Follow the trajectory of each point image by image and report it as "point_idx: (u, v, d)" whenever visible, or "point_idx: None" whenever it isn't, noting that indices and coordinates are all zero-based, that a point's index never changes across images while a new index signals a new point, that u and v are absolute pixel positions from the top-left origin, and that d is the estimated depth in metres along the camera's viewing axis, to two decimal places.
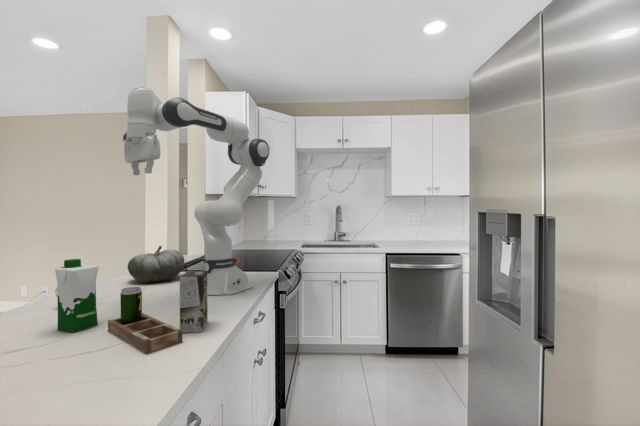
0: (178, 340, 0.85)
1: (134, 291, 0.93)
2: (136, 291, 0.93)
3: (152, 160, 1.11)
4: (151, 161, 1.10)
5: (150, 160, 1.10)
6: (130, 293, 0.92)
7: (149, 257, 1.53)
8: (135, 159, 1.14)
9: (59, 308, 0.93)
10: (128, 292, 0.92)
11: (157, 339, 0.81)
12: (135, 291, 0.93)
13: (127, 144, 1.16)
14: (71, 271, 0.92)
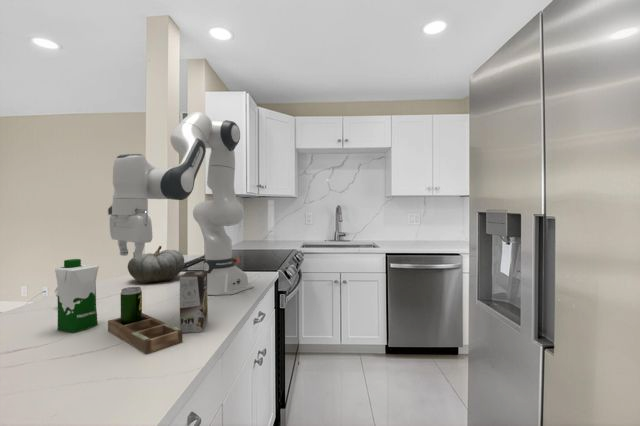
0: (178, 340, 0.85)
1: (134, 291, 0.93)
2: (136, 291, 0.93)
3: (142, 243, 0.91)
4: (141, 244, 0.91)
5: (140, 243, 0.90)
6: (130, 293, 0.92)
7: (149, 257, 1.53)
8: (122, 239, 0.94)
9: (59, 308, 0.93)
10: (128, 292, 0.92)
11: (157, 339, 0.81)
12: (135, 291, 0.93)
13: (113, 219, 0.96)
14: (71, 271, 0.92)
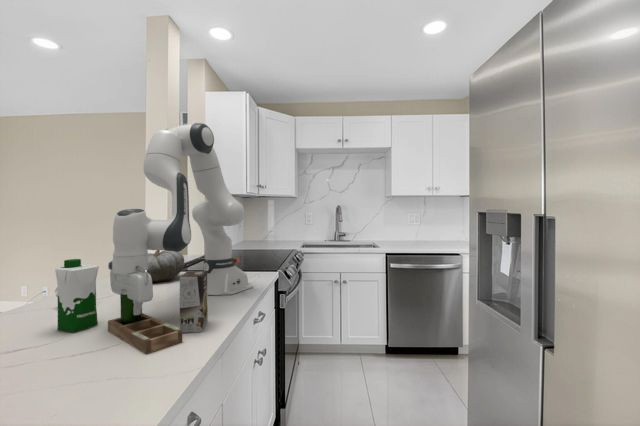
0: (178, 340, 0.85)
1: None
2: None
3: None
4: None
5: None
6: None
7: (149, 257, 1.53)
8: None
9: (59, 308, 0.93)
10: None
11: (157, 339, 0.81)
12: None
13: (113, 273, 0.96)
14: (71, 271, 0.92)
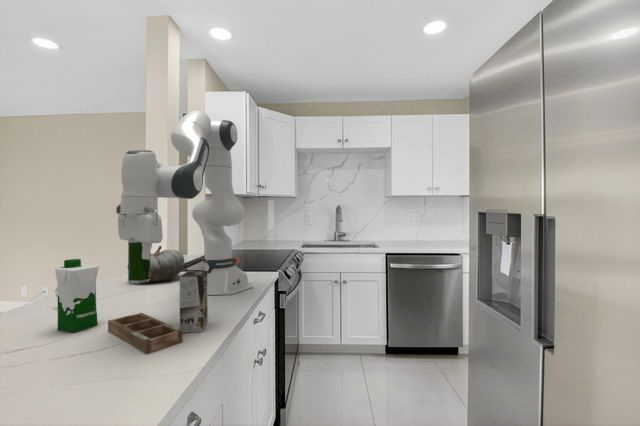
0: (178, 340, 0.85)
1: None
2: None
3: (150, 243, 0.87)
4: (149, 244, 0.87)
5: (147, 243, 0.87)
6: None
7: None
8: None
9: (59, 308, 0.93)
10: None
11: (157, 339, 0.81)
12: None
13: (121, 218, 0.92)
14: (71, 271, 0.92)
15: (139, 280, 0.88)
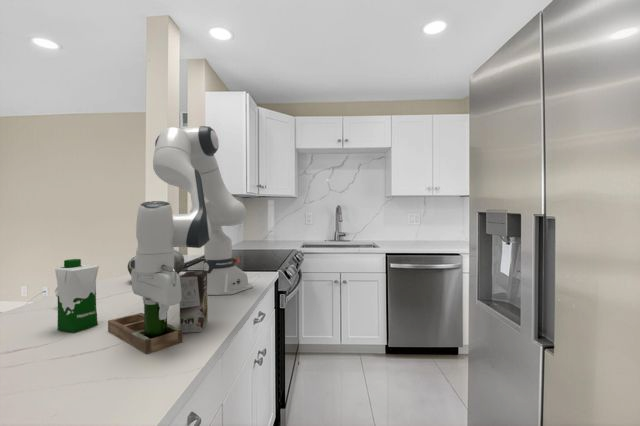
0: (178, 340, 0.85)
1: None
2: None
3: None
4: None
5: None
6: (155, 303, 0.83)
7: None
8: (146, 297, 0.84)
9: (59, 308, 0.93)
10: (153, 302, 0.82)
11: (157, 339, 0.81)
12: None
13: (135, 273, 0.87)
14: (71, 271, 0.92)
15: None
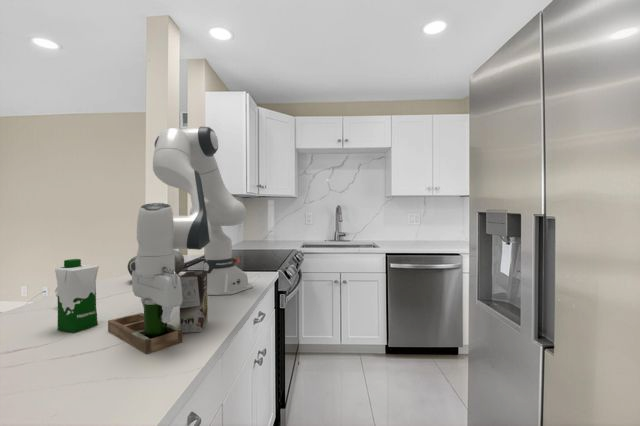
0: (178, 340, 0.85)
1: None
2: None
3: None
4: (169, 307, 0.81)
5: None
6: (155, 303, 0.83)
7: None
8: None
9: (59, 308, 0.93)
10: None
11: (157, 339, 0.81)
12: None
13: (136, 275, 0.87)
14: (71, 271, 0.92)
15: None
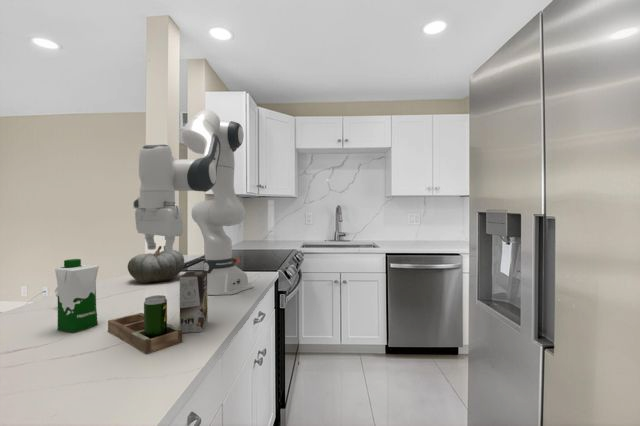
0: (178, 340, 0.85)
1: (159, 301, 0.83)
2: (161, 300, 0.84)
3: (173, 236, 0.88)
4: (172, 238, 0.88)
5: (170, 237, 0.88)
6: (155, 303, 0.83)
7: (149, 257, 1.53)
8: (150, 233, 0.91)
9: (59, 308, 0.93)
10: (153, 302, 0.82)
11: (157, 339, 0.81)
12: (160, 301, 0.83)
13: (139, 212, 0.93)
14: (71, 271, 0.92)
15: None
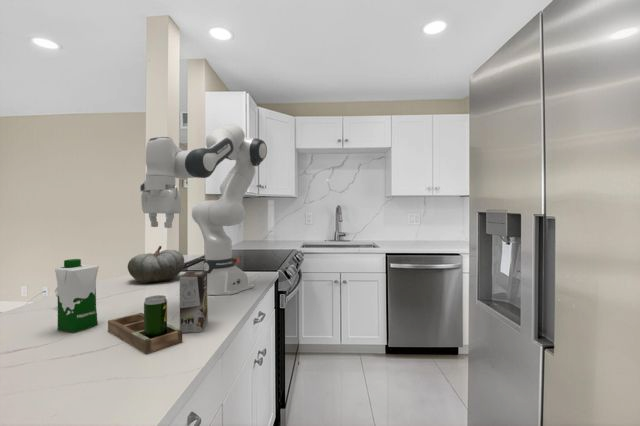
0: (178, 340, 0.85)
1: (159, 301, 0.83)
2: (161, 300, 0.84)
3: (172, 214, 1.04)
4: (171, 215, 1.04)
5: (170, 214, 1.04)
6: (155, 303, 0.83)
7: (149, 257, 1.53)
8: (154, 212, 1.07)
9: (59, 308, 0.93)
10: (153, 302, 0.82)
11: (157, 339, 0.81)
12: (160, 300, 0.83)
13: (145, 195, 1.10)
14: (71, 271, 0.92)
15: None
